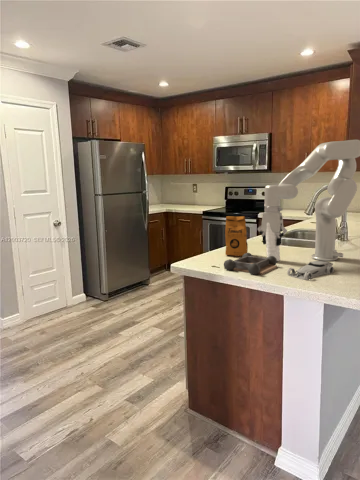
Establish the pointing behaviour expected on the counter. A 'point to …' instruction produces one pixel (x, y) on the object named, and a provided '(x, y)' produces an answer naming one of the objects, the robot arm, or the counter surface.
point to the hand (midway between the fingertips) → (271, 244)
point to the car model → (312, 270)
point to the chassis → (251, 264)
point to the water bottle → (271, 243)
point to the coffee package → (236, 236)
